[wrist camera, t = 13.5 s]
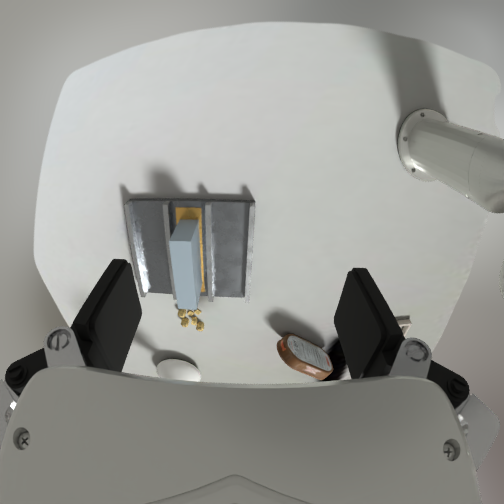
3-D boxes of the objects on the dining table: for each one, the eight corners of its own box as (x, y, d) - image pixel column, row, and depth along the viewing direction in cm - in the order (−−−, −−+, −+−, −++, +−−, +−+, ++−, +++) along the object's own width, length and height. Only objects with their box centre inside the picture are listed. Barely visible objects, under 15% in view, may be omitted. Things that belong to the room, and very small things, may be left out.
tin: (274, 334, 56) (277, 365, 49) (284, 325, 55) (288, 357, 48) (321, 356, 61) (327, 384, 54) (330, 349, 60) (338, 377, 53)
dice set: (204, 324, 55) (203, 331, 53) (180, 322, 55) (179, 328, 53) (204, 307, 53) (203, 313, 51) (179, 304, 52) (177, 311, 51)
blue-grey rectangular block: (198, 219, 41) (190, 241, 35) (202, 282, 47) (196, 309, 41) (179, 219, 41) (168, 241, 35) (185, 282, 47) (178, 308, 41)
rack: (254, 200, 41) (255, 206, 39) (248, 294, 50) (249, 303, 48) (129, 199, 40) (124, 204, 38) (144, 288, 49) (141, 296, 47)
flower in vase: (187, 351, 59) (171, 450, 37) (209, 376, 64) (202, 465, 43) (144, 359, 61) (121, 446, 40) (168, 382, 67) (154, 463, 45)
